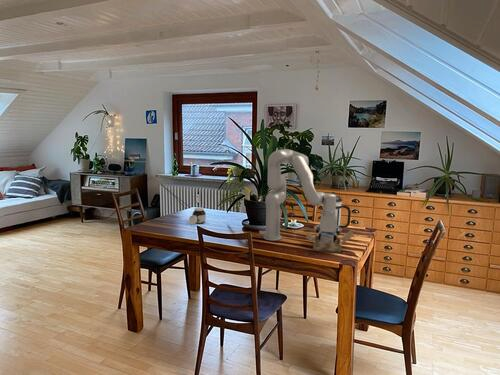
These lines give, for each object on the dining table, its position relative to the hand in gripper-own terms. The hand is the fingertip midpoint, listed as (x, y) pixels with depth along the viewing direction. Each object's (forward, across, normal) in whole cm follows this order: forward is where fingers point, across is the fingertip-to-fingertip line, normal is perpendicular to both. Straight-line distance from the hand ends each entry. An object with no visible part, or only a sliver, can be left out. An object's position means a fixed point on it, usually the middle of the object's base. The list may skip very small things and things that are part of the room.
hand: (327, 240), depth 221 cm
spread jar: (+5, -97, +30) cm, 101 cm away
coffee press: (+5, +4, +33) cm, 34 cm away
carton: (+5, -2, 0) cm, 5 cm away
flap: (-1, +9, 0) cm, 9 cm away
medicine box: (+3, 0, +1) cm, 3 cm away
